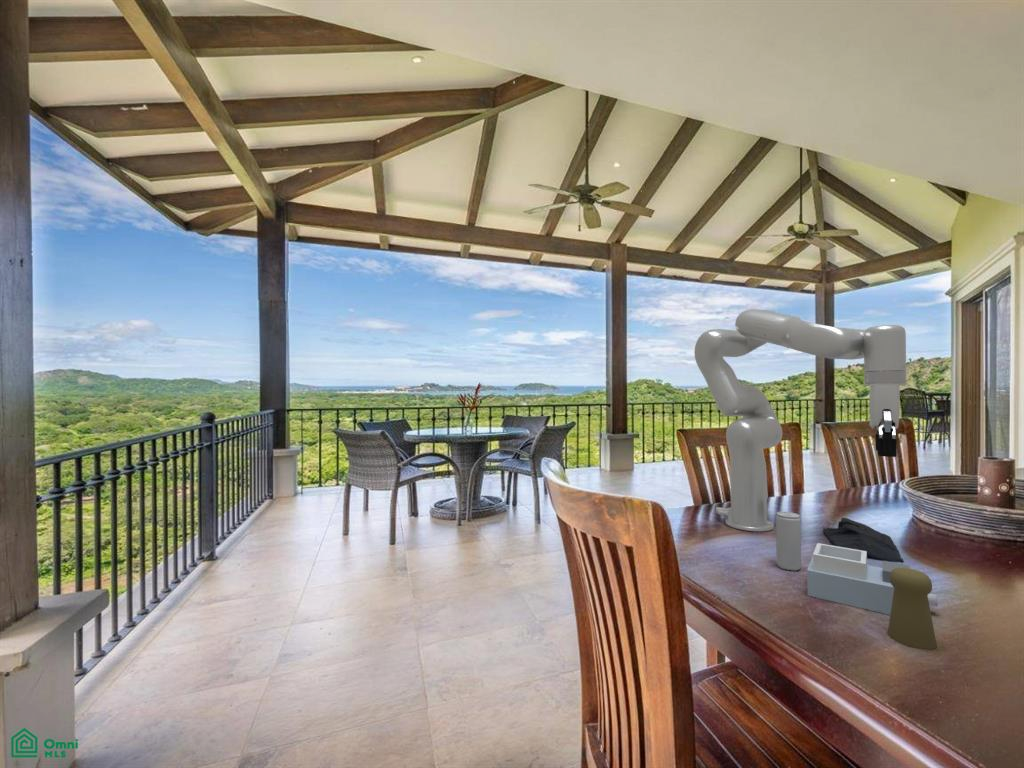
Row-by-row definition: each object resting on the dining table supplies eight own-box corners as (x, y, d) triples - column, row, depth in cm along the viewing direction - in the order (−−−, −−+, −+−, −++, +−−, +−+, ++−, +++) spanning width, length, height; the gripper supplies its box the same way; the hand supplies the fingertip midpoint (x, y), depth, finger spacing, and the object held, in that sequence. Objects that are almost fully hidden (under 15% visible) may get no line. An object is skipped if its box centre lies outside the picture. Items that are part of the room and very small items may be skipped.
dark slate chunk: (827, 555, 113) (826, 535, 113) (822, 530, 131) (822, 514, 131) (908, 567, 105) (908, 546, 105) (891, 539, 123) (890, 521, 123)
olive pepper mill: (877, 630, 77) (876, 564, 77) (911, 628, 77) (909, 562, 78) (912, 650, 71) (910, 579, 71) (948, 648, 71) (946, 577, 71)
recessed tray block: (807, 595, 90) (806, 554, 90) (813, 578, 98) (812, 541, 98) (940, 626, 78) (939, 578, 78) (934, 604, 86) (933, 561, 86)
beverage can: (798, 564, 105) (797, 512, 105) (804, 572, 101) (803, 517, 101) (774, 562, 107) (773, 510, 107) (779, 570, 102) (778, 516, 102)
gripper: (863, 379, 115) (864, 448, 115) (865, 379, 101) (866, 457, 101) (902, 379, 111) (903, 450, 111) (910, 378, 97) (911, 460, 97)
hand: (885, 453), depth 106 cm, fingers open, 9 cm apart
